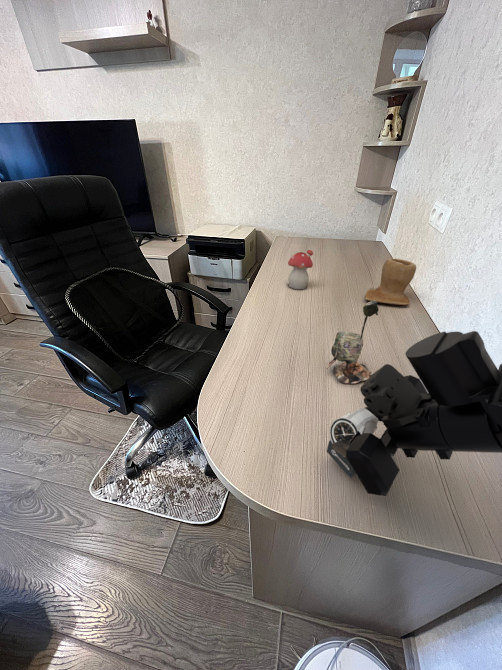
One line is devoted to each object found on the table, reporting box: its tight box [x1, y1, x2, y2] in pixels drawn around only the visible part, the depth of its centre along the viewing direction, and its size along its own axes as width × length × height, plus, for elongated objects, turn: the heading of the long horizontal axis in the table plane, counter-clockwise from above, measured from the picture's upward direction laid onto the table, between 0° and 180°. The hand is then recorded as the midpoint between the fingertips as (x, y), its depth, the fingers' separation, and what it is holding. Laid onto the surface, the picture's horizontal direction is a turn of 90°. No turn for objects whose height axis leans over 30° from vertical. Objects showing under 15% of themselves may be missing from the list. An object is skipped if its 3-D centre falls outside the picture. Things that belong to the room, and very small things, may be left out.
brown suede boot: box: [364, 257, 417, 306], centre depth 99 cm, size 15×12×15 cm
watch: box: [326, 407, 379, 479], centre depth 45 cm, size 6×8×11 cm
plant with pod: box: [325, 300, 379, 384], centre depth 64 cm, size 8×11×20 cm
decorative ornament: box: [287, 249, 314, 290], centre depth 107 cm, size 9×6×15 cm
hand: (346, 429), depth 45 cm, fingers closed on watch, 8 cm apart
